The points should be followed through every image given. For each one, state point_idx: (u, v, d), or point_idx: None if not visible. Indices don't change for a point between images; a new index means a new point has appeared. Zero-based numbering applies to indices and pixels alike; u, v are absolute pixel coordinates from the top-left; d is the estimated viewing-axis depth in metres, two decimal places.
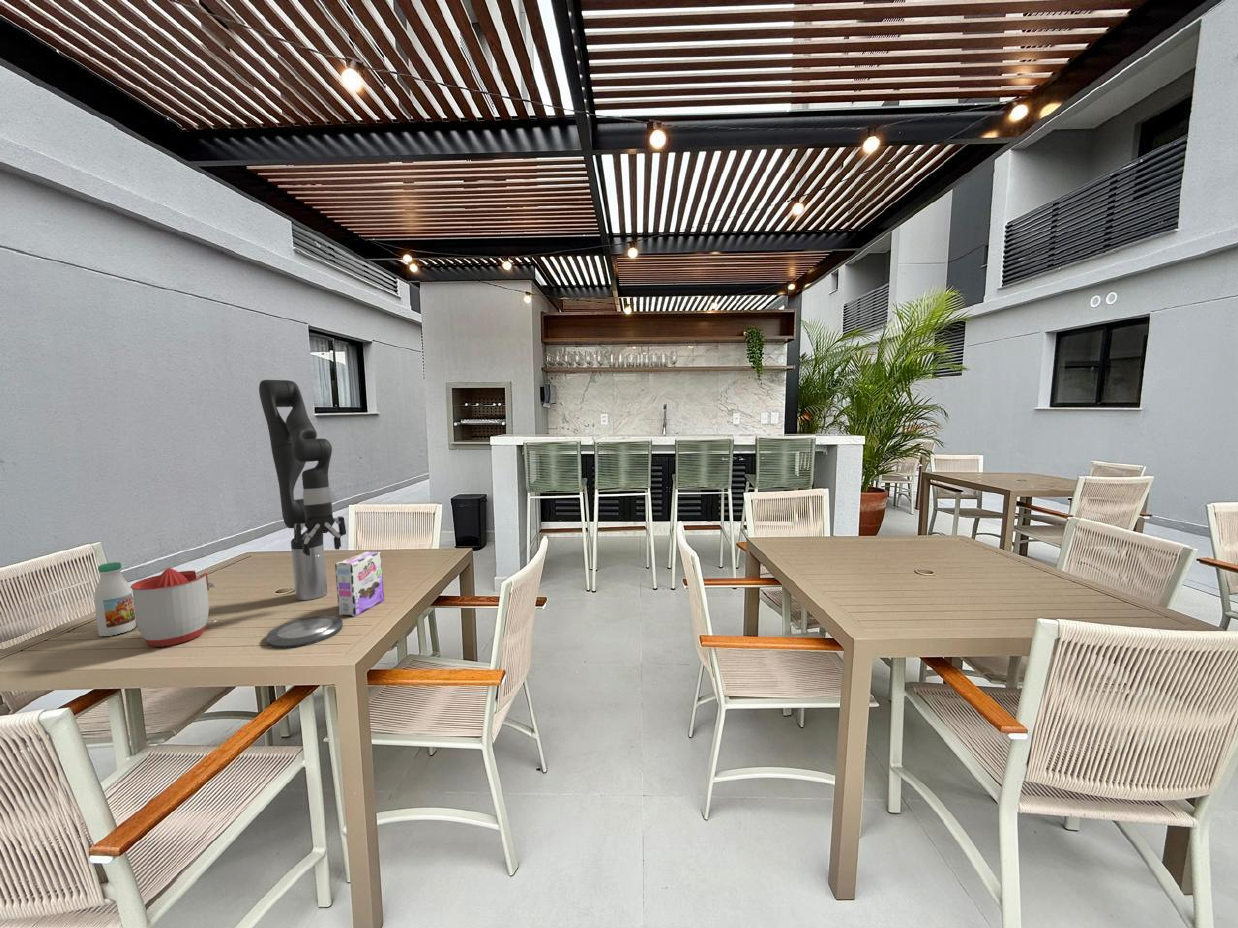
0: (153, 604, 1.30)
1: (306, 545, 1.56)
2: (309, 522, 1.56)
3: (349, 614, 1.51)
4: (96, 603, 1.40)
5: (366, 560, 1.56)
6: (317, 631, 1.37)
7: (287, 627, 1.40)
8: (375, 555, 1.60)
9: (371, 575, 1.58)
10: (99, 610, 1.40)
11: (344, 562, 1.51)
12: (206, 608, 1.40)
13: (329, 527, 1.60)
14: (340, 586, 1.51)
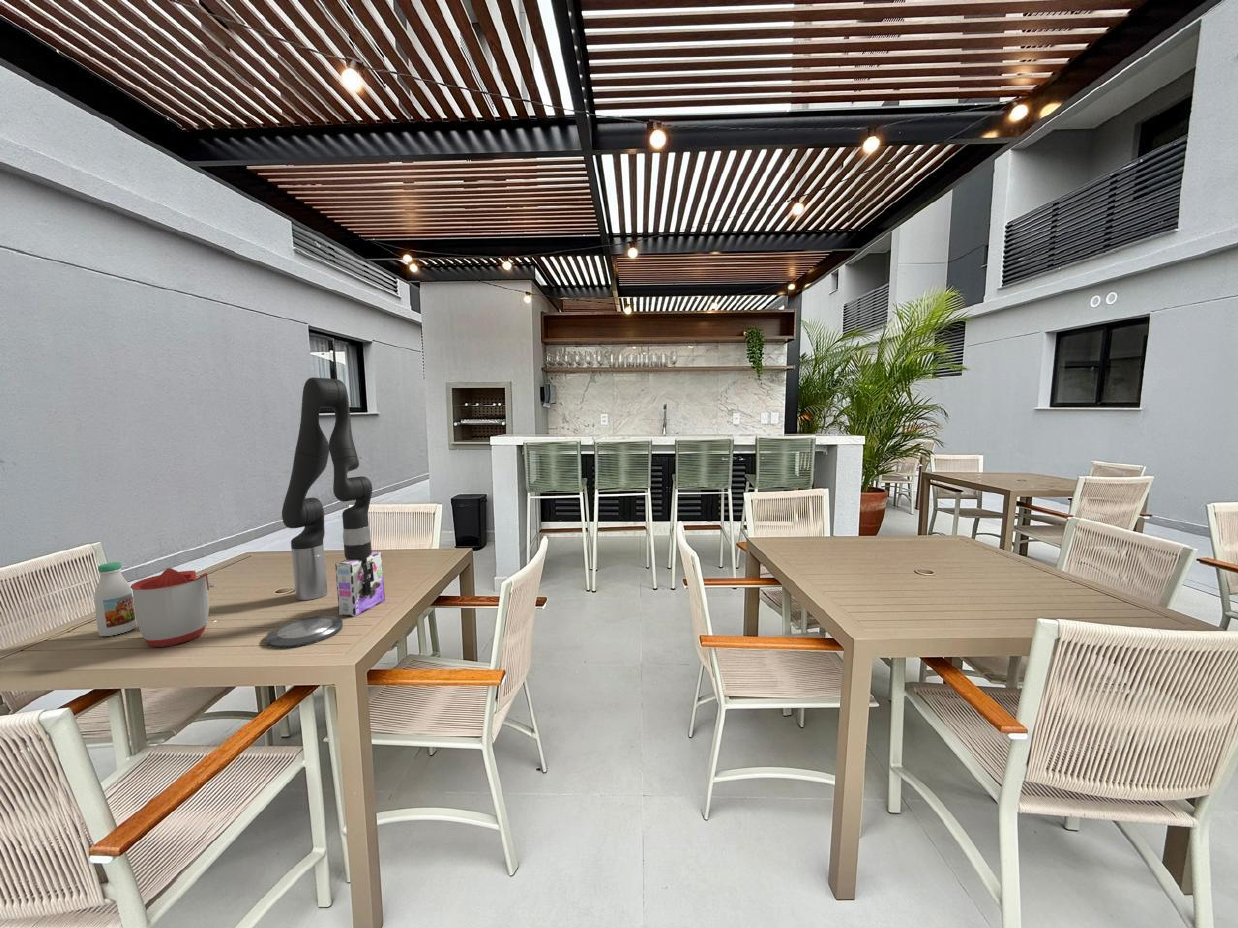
0: (153, 604, 1.30)
1: (369, 583, 1.55)
2: None
3: (349, 614, 1.51)
4: (96, 603, 1.40)
5: None
6: (317, 631, 1.37)
7: (287, 627, 1.40)
8: (376, 555, 1.60)
9: None
10: (99, 610, 1.40)
11: (344, 562, 1.51)
12: (206, 608, 1.40)
13: None
14: (340, 586, 1.51)
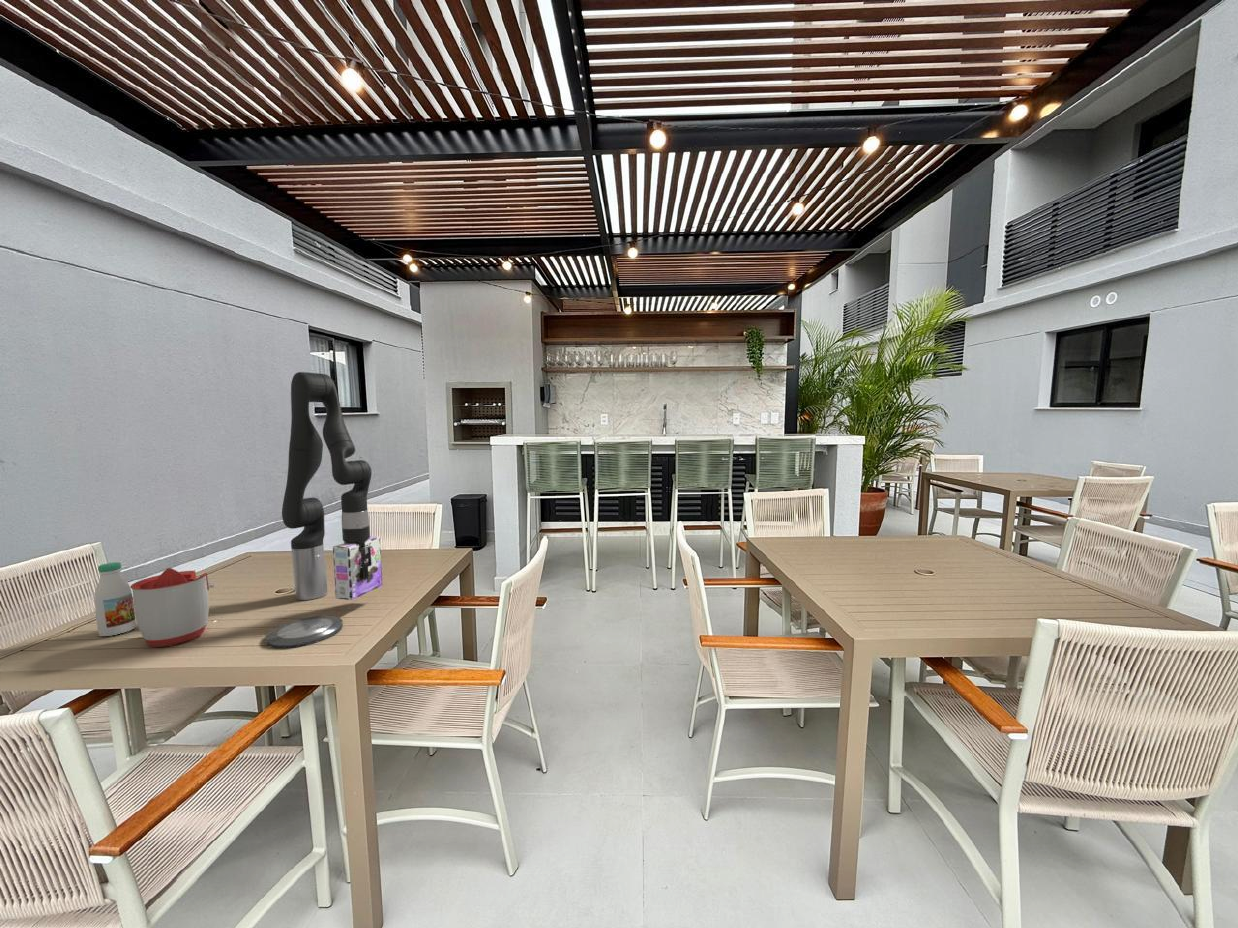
0: (153, 604, 1.30)
1: None
2: None
3: (346, 598, 1.51)
4: (96, 603, 1.40)
5: None
6: (317, 631, 1.37)
7: (287, 627, 1.40)
8: (374, 540, 1.59)
9: None
10: (99, 610, 1.40)
11: (342, 545, 1.50)
12: (206, 608, 1.40)
13: None
14: (337, 569, 1.50)
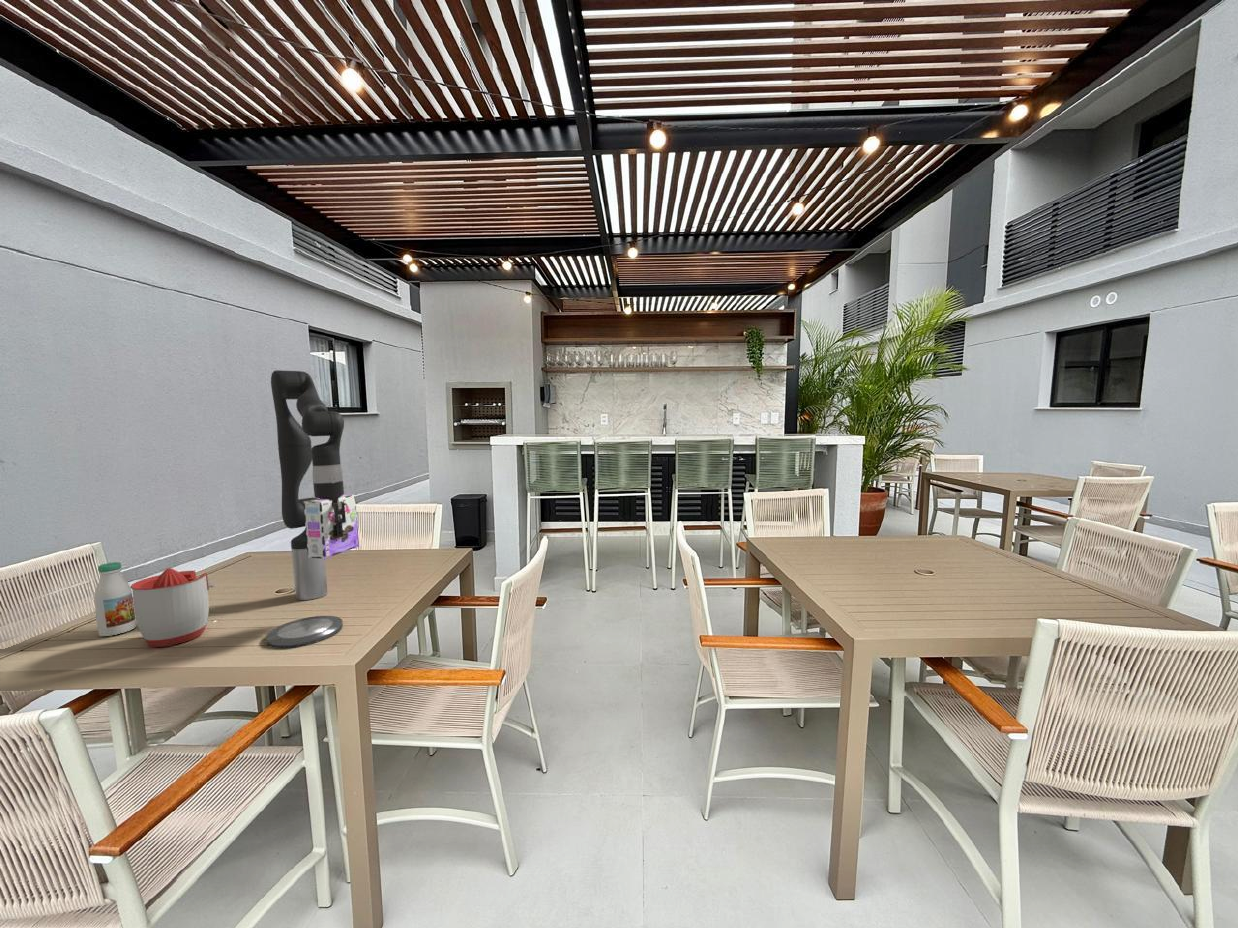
0: (153, 604, 1.30)
1: (341, 525, 1.45)
2: None
3: (319, 556, 1.41)
4: (96, 603, 1.40)
5: None
6: (317, 631, 1.37)
7: (287, 627, 1.40)
8: (348, 497, 1.50)
9: None
10: (99, 610, 1.40)
11: (313, 500, 1.41)
12: (206, 608, 1.40)
13: None
14: (309, 526, 1.41)
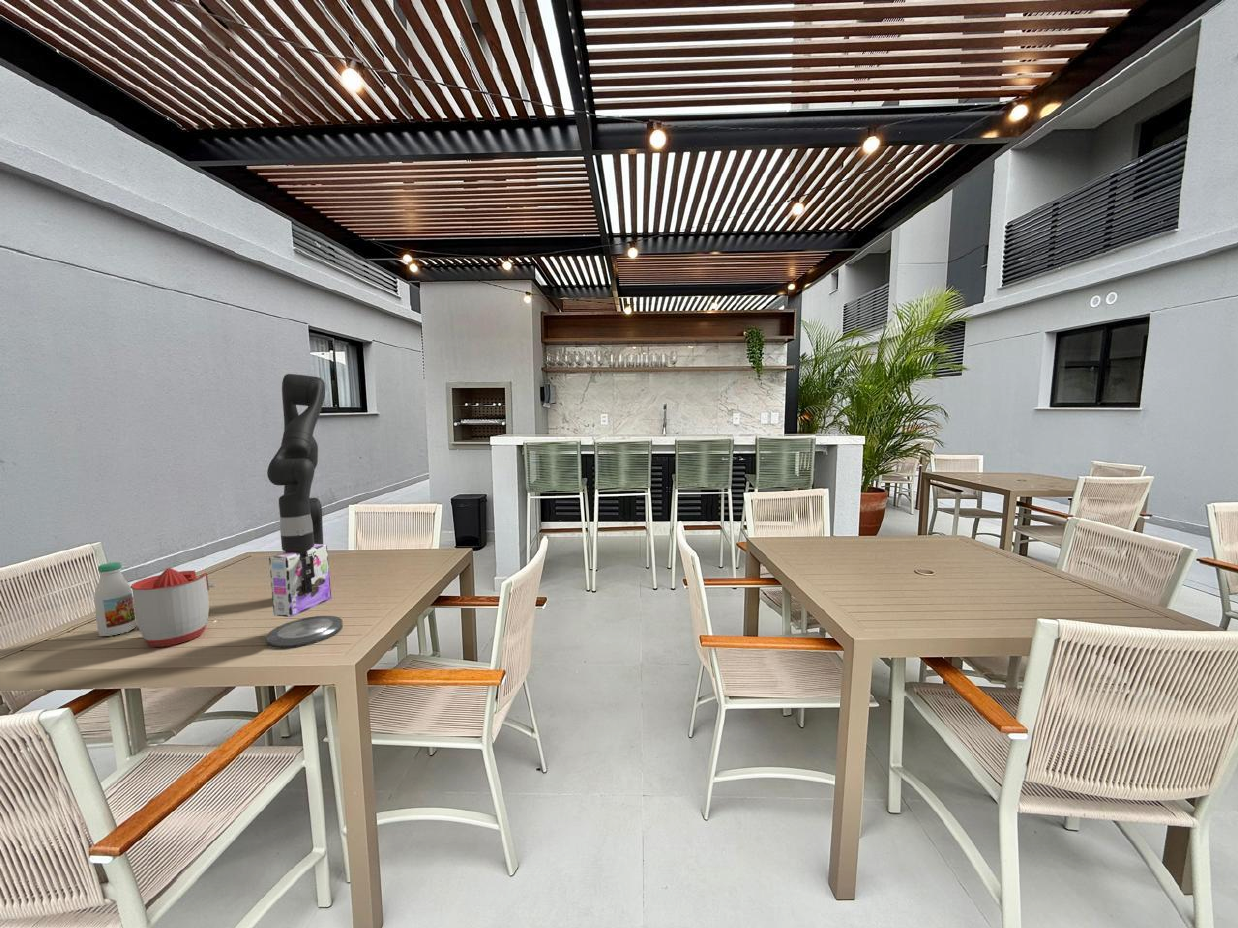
0: (153, 604, 1.30)
1: (310, 580, 1.36)
2: None
3: (285, 614, 1.32)
4: (96, 603, 1.40)
5: None
6: (317, 631, 1.37)
7: (287, 627, 1.40)
8: (319, 548, 1.41)
9: None
10: (99, 610, 1.40)
11: (279, 555, 1.32)
12: (206, 608, 1.40)
13: None
14: (275, 582, 1.32)
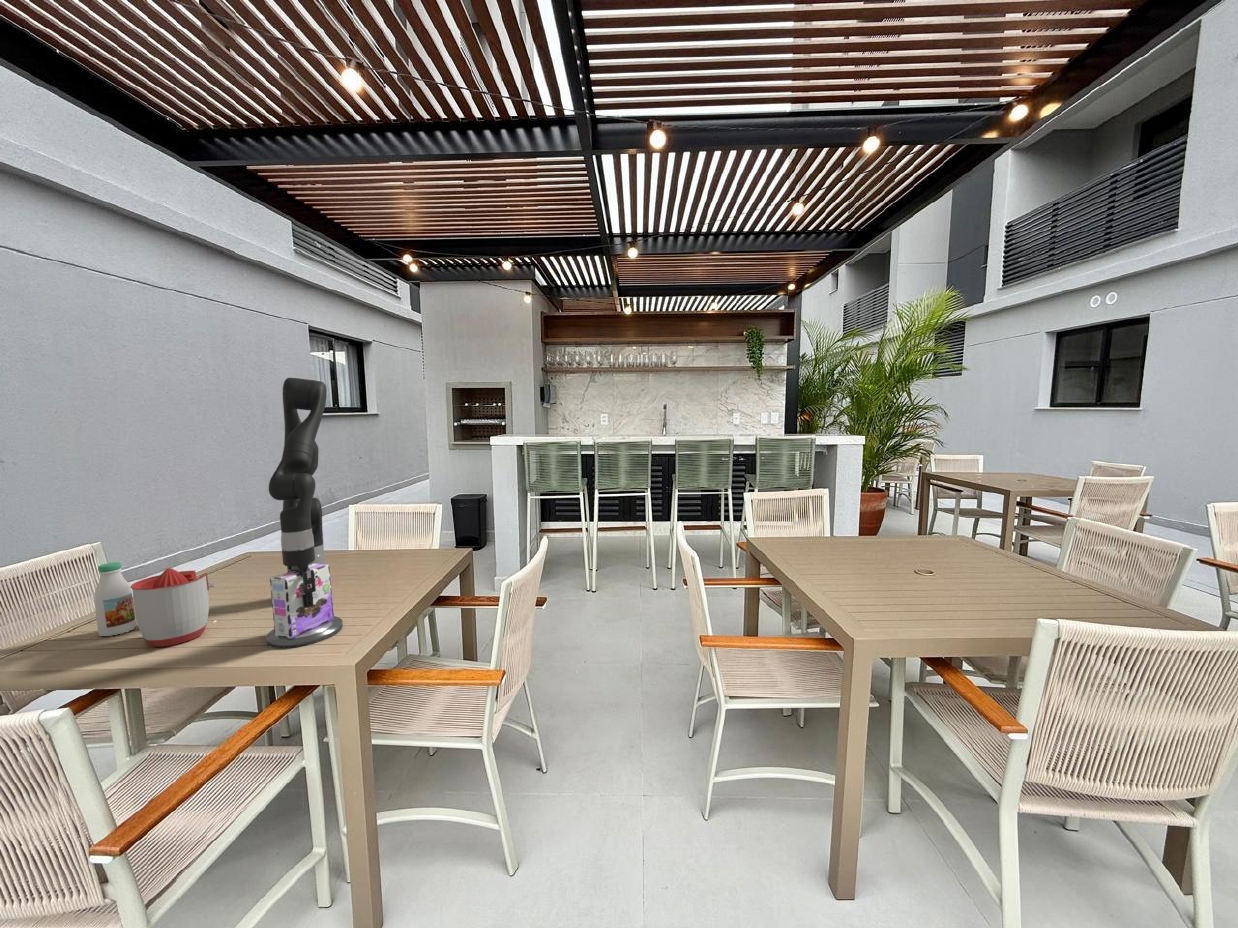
0: (153, 604, 1.30)
1: (311, 594, 1.36)
2: None
3: (285, 636, 1.33)
4: (96, 603, 1.40)
5: None
6: (317, 631, 1.37)
7: None
8: (321, 568, 1.41)
9: None
10: (99, 610, 1.40)
11: (280, 576, 1.33)
12: (206, 608, 1.40)
13: None
14: (275, 603, 1.33)
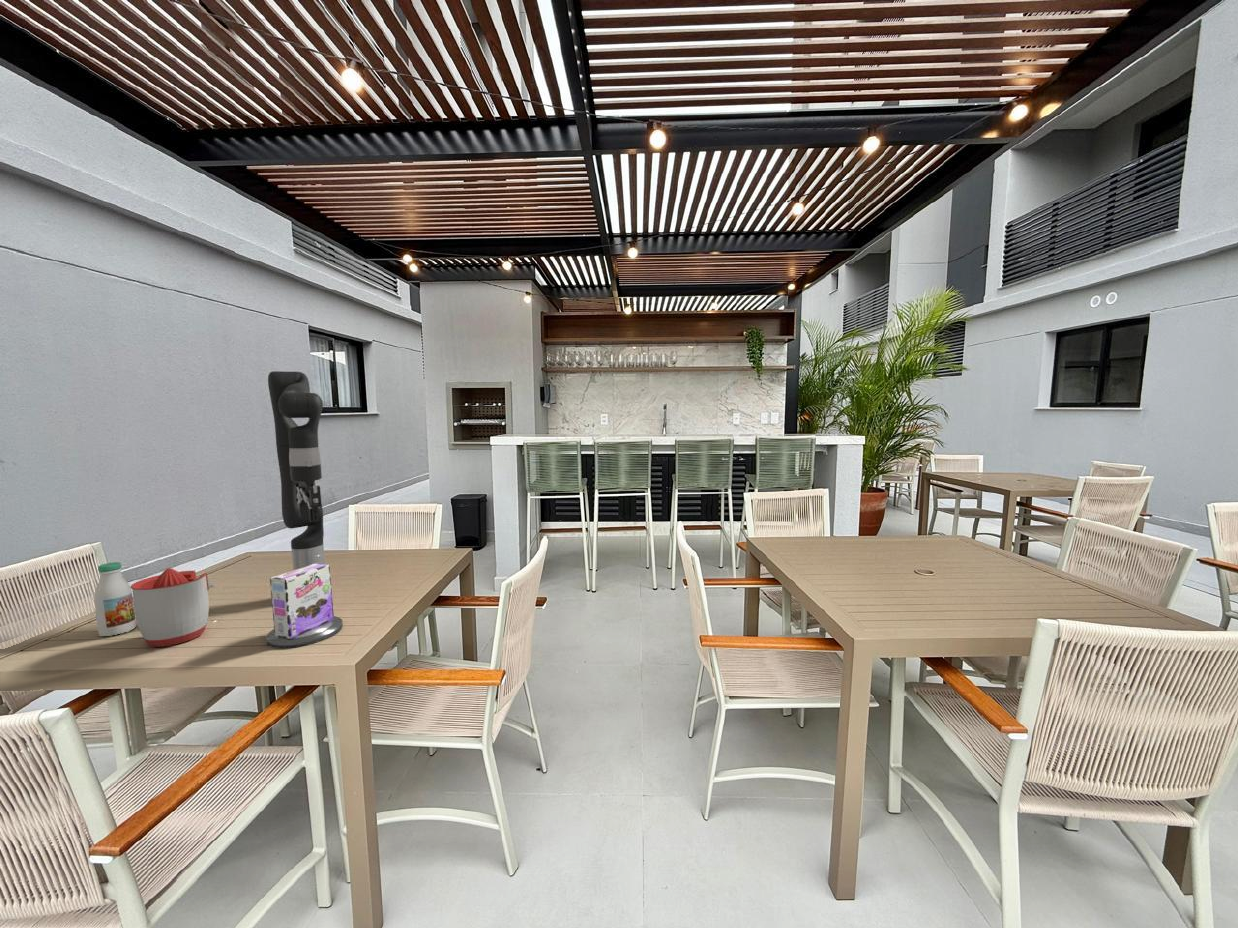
0: (153, 604, 1.30)
1: (317, 509, 1.42)
2: None
3: (284, 636, 1.33)
4: (96, 603, 1.40)
5: (308, 574, 1.37)
6: (317, 631, 1.37)
7: None
8: (321, 568, 1.41)
9: (315, 591, 1.39)
10: (99, 610, 1.40)
11: (280, 576, 1.33)
12: (206, 608, 1.40)
13: None
14: (275, 603, 1.33)
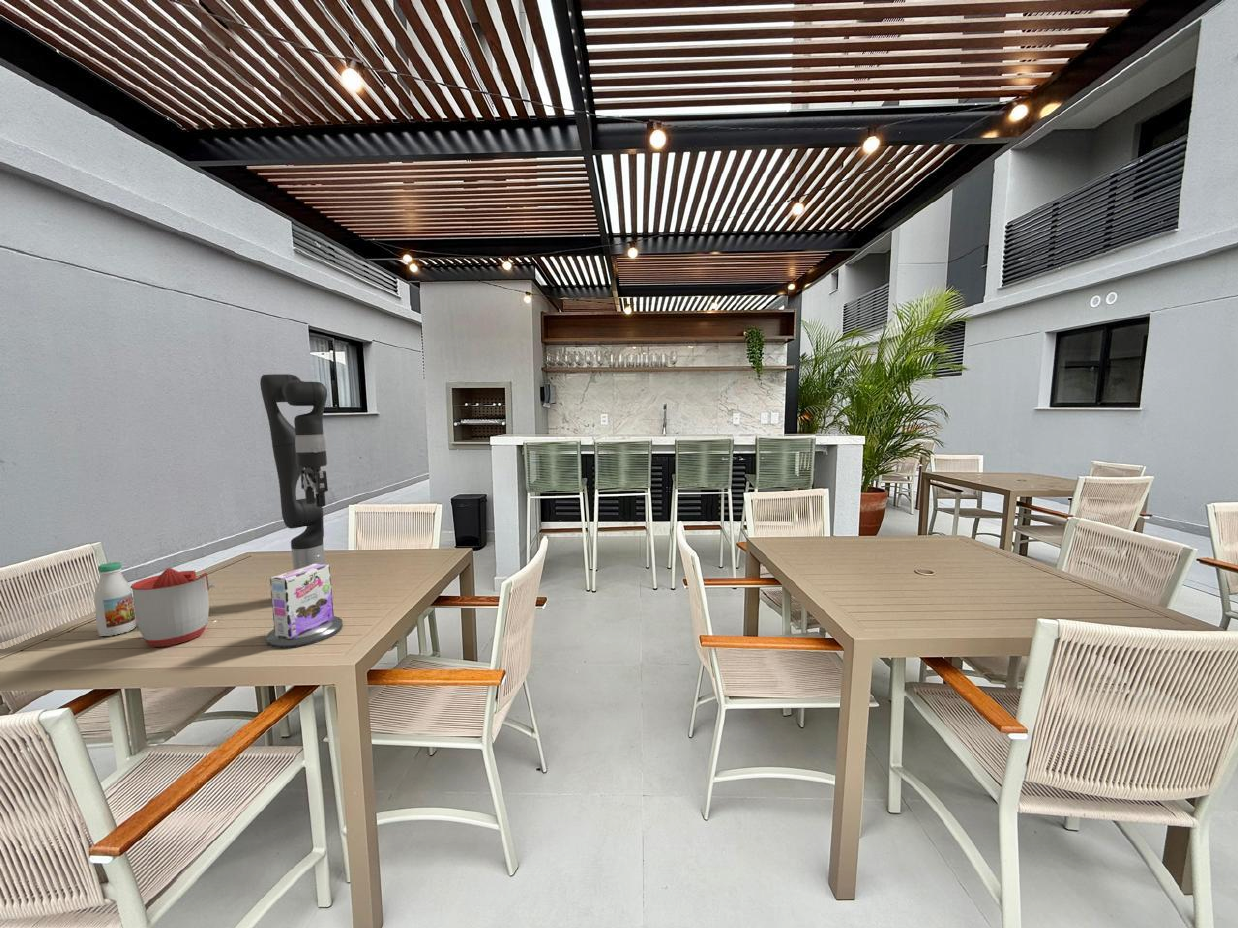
0: (153, 604, 1.30)
1: (323, 495, 1.46)
2: None
3: (284, 636, 1.33)
4: (96, 603, 1.40)
5: (308, 574, 1.37)
6: (317, 631, 1.37)
7: None
8: (321, 568, 1.41)
9: (315, 591, 1.39)
10: (99, 610, 1.40)
11: (280, 576, 1.33)
12: (206, 608, 1.40)
13: None
14: (275, 604, 1.33)
